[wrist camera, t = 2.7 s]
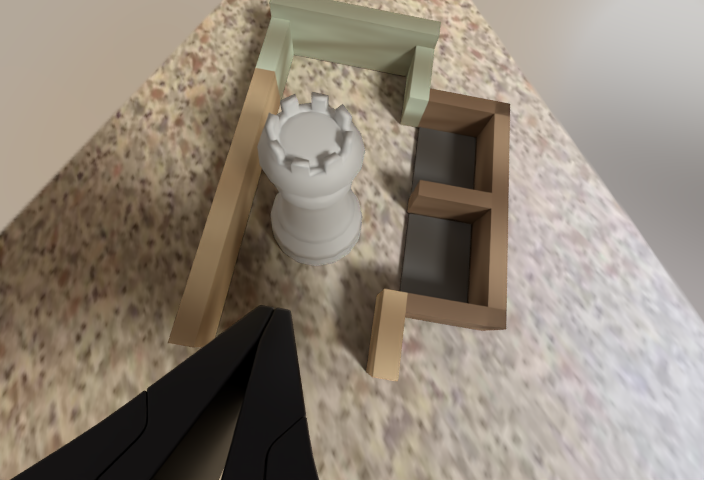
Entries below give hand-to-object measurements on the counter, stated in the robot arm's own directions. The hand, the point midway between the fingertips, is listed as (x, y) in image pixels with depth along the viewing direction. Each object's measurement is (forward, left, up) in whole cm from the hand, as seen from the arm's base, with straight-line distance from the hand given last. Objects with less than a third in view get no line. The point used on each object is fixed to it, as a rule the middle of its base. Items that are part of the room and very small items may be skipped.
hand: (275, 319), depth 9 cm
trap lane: (+7, +4, -7) cm, 10 cm away
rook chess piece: (+4, +4, -7) cm, 9 cm away
